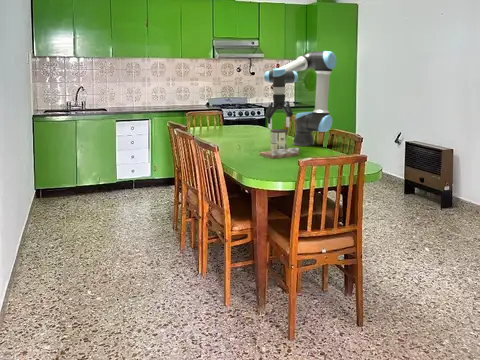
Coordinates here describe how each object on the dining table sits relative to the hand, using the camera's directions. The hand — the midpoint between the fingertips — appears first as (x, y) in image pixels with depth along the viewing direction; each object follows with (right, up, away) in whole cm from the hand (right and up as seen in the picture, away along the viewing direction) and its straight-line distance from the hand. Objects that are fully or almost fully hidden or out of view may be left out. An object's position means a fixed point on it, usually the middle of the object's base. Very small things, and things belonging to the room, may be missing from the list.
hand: (279, 128), depth 316 cm
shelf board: (0, -17, +3) cm, 17 cm away
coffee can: (0, -15, +3) cm, 15 cm away
